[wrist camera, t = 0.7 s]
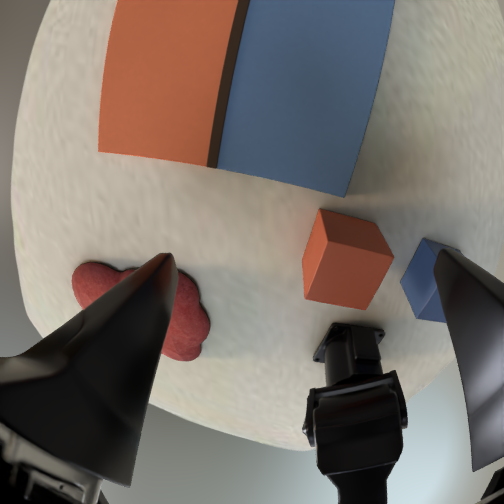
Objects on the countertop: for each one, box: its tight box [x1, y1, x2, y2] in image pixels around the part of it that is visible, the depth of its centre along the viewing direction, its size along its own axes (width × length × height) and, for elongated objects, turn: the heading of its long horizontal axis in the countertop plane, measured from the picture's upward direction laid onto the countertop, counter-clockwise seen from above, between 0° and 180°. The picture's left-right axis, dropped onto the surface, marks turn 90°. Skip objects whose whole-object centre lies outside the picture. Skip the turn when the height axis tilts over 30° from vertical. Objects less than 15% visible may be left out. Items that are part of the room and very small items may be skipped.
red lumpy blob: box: [72, 262, 210, 361], centre depth 29 cm, size 18×14×2 cm
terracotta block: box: [302, 209, 394, 310], centre depth 21 cm, size 5×5×5 cm
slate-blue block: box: [400, 238, 464, 323], centre depth 21 cm, size 5×5×5 cm
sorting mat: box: [98, 0, 395, 198], centre depth 15 cm, size 20×20×1 cm
